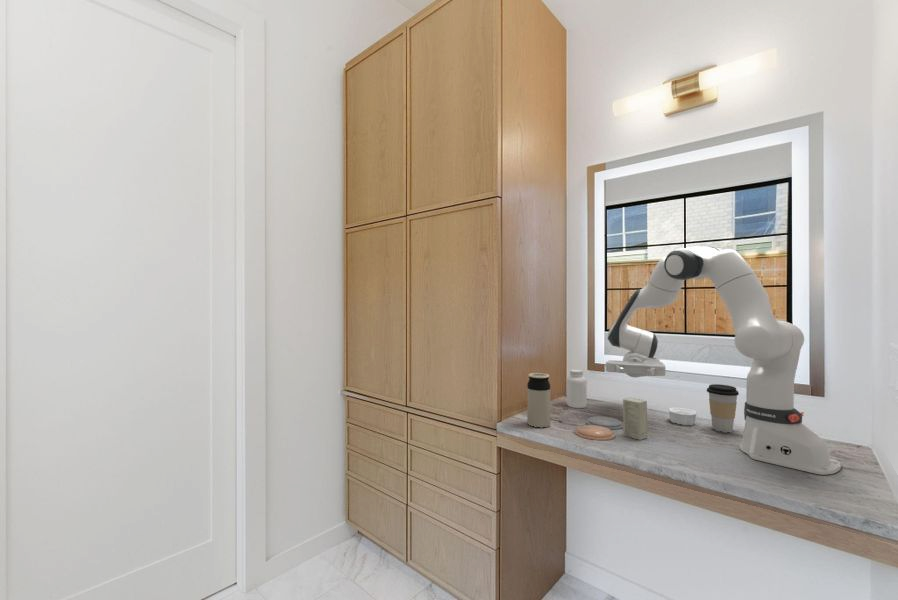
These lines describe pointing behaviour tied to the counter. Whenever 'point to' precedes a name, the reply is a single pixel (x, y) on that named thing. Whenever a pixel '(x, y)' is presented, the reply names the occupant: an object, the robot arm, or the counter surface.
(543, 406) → the travel mug
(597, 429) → the terracotta dish
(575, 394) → the pill bottle
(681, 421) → the ramekin
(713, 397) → the coffee cup
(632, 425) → the skincare box
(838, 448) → the counter surface
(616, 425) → the slate dish
